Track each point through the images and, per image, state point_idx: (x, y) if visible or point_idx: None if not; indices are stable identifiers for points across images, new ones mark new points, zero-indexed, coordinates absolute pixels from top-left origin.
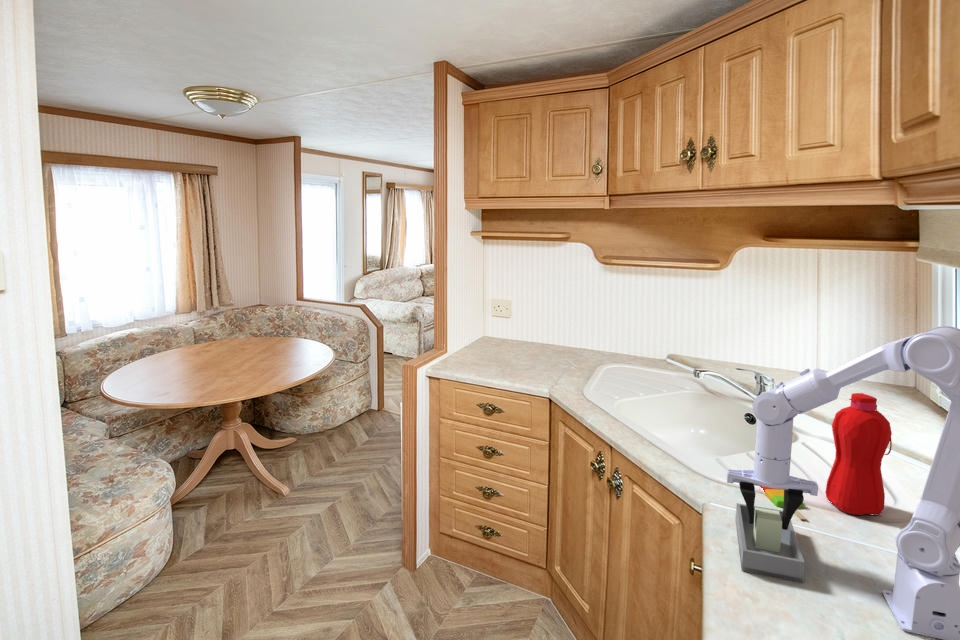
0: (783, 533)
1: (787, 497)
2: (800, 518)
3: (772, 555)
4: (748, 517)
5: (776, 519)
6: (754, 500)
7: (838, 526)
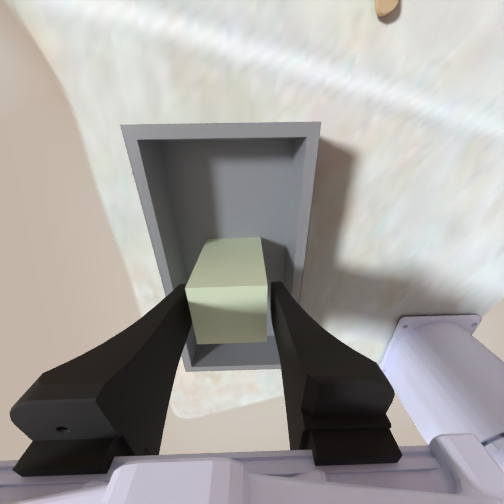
0: (283, 189)
1: (293, 443)
2: (375, 3)
3: (237, 368)
4: (177, 286)
5: (251, 336)
6: (165, 414)
7: (498, 9)
